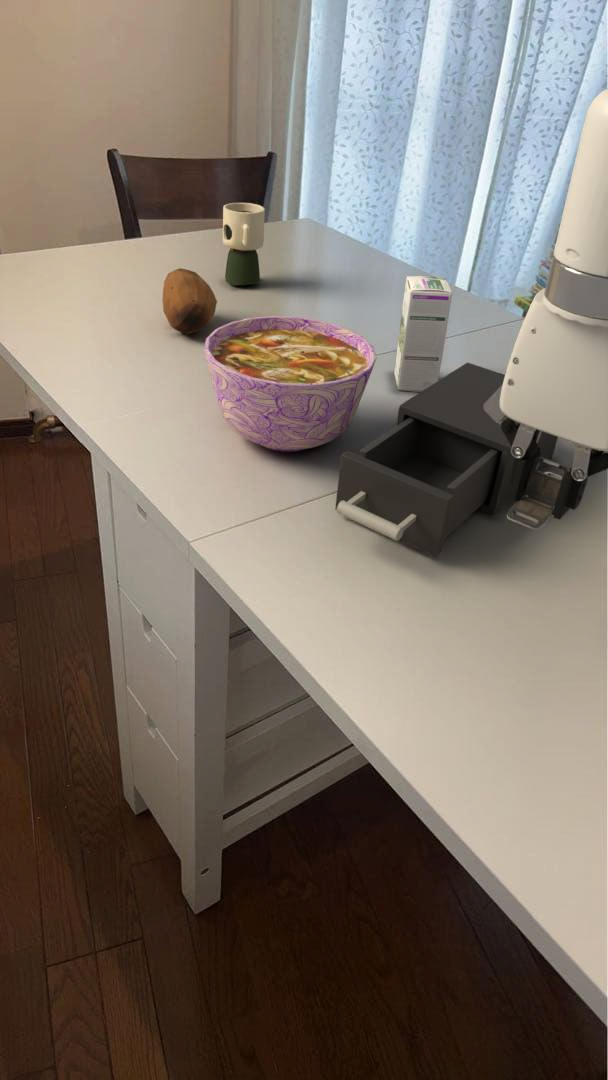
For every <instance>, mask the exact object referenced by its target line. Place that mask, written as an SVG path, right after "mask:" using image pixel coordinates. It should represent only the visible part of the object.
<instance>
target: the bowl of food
mask: <svg viewBox="0 0 608 1080" xmlns="http://www.w3.org/2000/svg"><path fill="white" fill-rule="evenodd" d="M204 354H205V358H206V359H205V360H206V363H207V367H208V371H209V375H210V380H211V384H212V387H213V390H214V394H215V399H216V402H217V404H218V408H219V412H220V413H221V414H222V417H223V418H224V420H225V421H226V422H227V424H228V425H229V426H230V428H231V429H232V430H233V432H235V433H237V435H239V436H241V438H243V439H244V440H248V441H250V442H252V443H254V444H257V445H260V446H262V447H264V448H266V449H269V450H273V451H278V452H288V453H289V452H290V453H291V452H293V453H294V452H299V451H300V452H301V451H304V450H306V449H312V448H315V447H319V446H322V445H325V444H328V443H331V442H332V441H333V440H334V439H336V438H338V437H339V436H340V435H342V433H343V432H344V431H345V430H347V428H348V427H349V426H350V424H351V422H352V420H353V417H354V416H355V414H356V411H357V410H358V407H359V405H360V403H361V401H362V398H363V395H364V392H365V391H366V387H367V385H368V382H369V379H370V376H371V374H372V371H373V369H374V366H375V364H376V361H377V355H376V351H375V348H374V346H373V345H372V344H371V343H370V342H369V341H368V340H367V339H366V338H365V337H364V336H363V335H360V334H358V333H357V332H354V331H352V330H351V329H348V328H347V327H344V326H341V325H338V324H336V323H335V324H334V323H331V322H328V321H324V320H320V319H313V318H307V317H302V316H284V315H283V316H282V315H281V316H280V315H271V316H270V315H269V316H256V317H249V318H245V319H244V318H243V319H240V320H234V321H231V322H229V323H226V324H224V325H222V326H219V327H218V328H215V329H214V331H212V332H211V333H210V334H209V335H208V336H207V337H205V343H204Z"/></svg>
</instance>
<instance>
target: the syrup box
mask: <svg viewBox="0 0 608 1080" xmlns="http://www.w3.org/2000/svg"><path fill="white" fill-rule="evenodd" d="M452 297H453V291H452V289H451V286H450V284H449V282H448V280H447V278H444V277H439V276H428V275H427V276H426V275H414V276H412V275H411V276H410V275H407V276H406V280H405V287H404V294H403V301H402V309H401V316H400V324H399V330H398V331H399V333H398V338H397V345H396V346H397V348H396V355H395V361H394V370H393V376H394V380H395V384H396V389H397V390H398V391H405V392H414V393H415V392H417V393H420V392H422V391H423V390H425V389H426V388H428V387H429V386H431V385H433V384H434V383H436V382H437V381H439V378H440V372H441V366H442V360H443V354H444V349H445V342H446V337H447V330H448V323H449V317H450V311H451V310H450V309H451V304H452Z"/></svg>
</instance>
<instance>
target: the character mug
mask: <svg viewBox="0 0 608 1080" xmlns="http://www.w3.org/2000/svg"><path fill="white" fill-rule="evenodd" d="M265 215H266V209H265V207H264V206H262V205H260V204H257V203H251V202H231V203H227V204H224V205H223V208H222V244H223V245H224V246H226V247H227V248H229V251H228V253H227V259H226V264H225V265H226V266H225V274H224V275H225V277H224V279H225V283H227V284H229V285H233V286H242V287H245V286H246V285H254V284H259V283H260V282H261V274H260V273H261V272H260V263H259V255H258V251H257V250H259V249H262V248H263V246H264V243H265V242H264V241H265V217H266V216H265Z"/></svg>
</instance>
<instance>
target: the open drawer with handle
mask: <svg viewBox="0 0 608 1080" xmlns="http://www.w3.org/2000/svg"><path fill="white" fill-rule="evenodd" d="M396 425H397V424H396ZM396 425H395V426H394V427H393V428H391V429H389V430H388V431H386V432H385V433H384V434H382V435H380V437H379V436H378V438H376V439H374V440H373V441H372V442H370V443H368V444H367V445H366V446H364V447H363V448H361V449H360V451H359V454H358V453H356V452H355V453H354V452H352V451H350V450H346V451H345V452H343V453H342V454H341V455H340V463H339V464H340V465H339V473H338V480H337V481H338V482H337V490H336V498H335V499H336V500H335V508H334V510H335V511H336V513H337V514H339V515H341V516H342V517H345V518H347V519H349V520H351V521H354V522H355V523H358V524H360V525H362V526H364V527H366V528H369V529H370V530H372V531H375V532H377V533H378V534H381V535H383V536H385V537H388V538H390V539H392V540H394V541H395V542H397V541H401V542H404V543H406V544H407V545H410V546H412V547H414V548H416V549H418V550H421V551H422V552H425V553H427V554H429V555H431V556H434V557H438V556H439V555H441V554H442V553H443V550H444V545H445V540H446V538H448V537H449V535H451V534H452V533H453V532H455V530H456V529H457V528H458V527H459V526H461V525H462V524H463V523H464V522H465V521H466V520H467V519H468V518H469V517H470V516H472V514H474V513H475V512H476V511H477V510H479V509H478V508H479V507H480V506H481V505H482V504H483V503H484V502H485V501H486V500H488V499H489V498H490V497H491V496H492V492H493V488H494V484H495V480H496V476H497V471H498V467H499V463H500V459H501V455H502V451H500V450H497V449H495V448H492V447H489V446H487V445H484V444H481V443H479V442H476V441H474V440H471V439H468V438H466V437H463V436H461V435H458V434H455V433H453V432H450V431H447V430H445V429H442V428H440V427H437V426H434V425H432V424H429V423H427V422H424V421H421V420H419V419H416V418H413V417H409V418H408V419H406V420H405V421H403V422H402V423H400V424H399V425H397V426H396Z"/></svg>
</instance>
